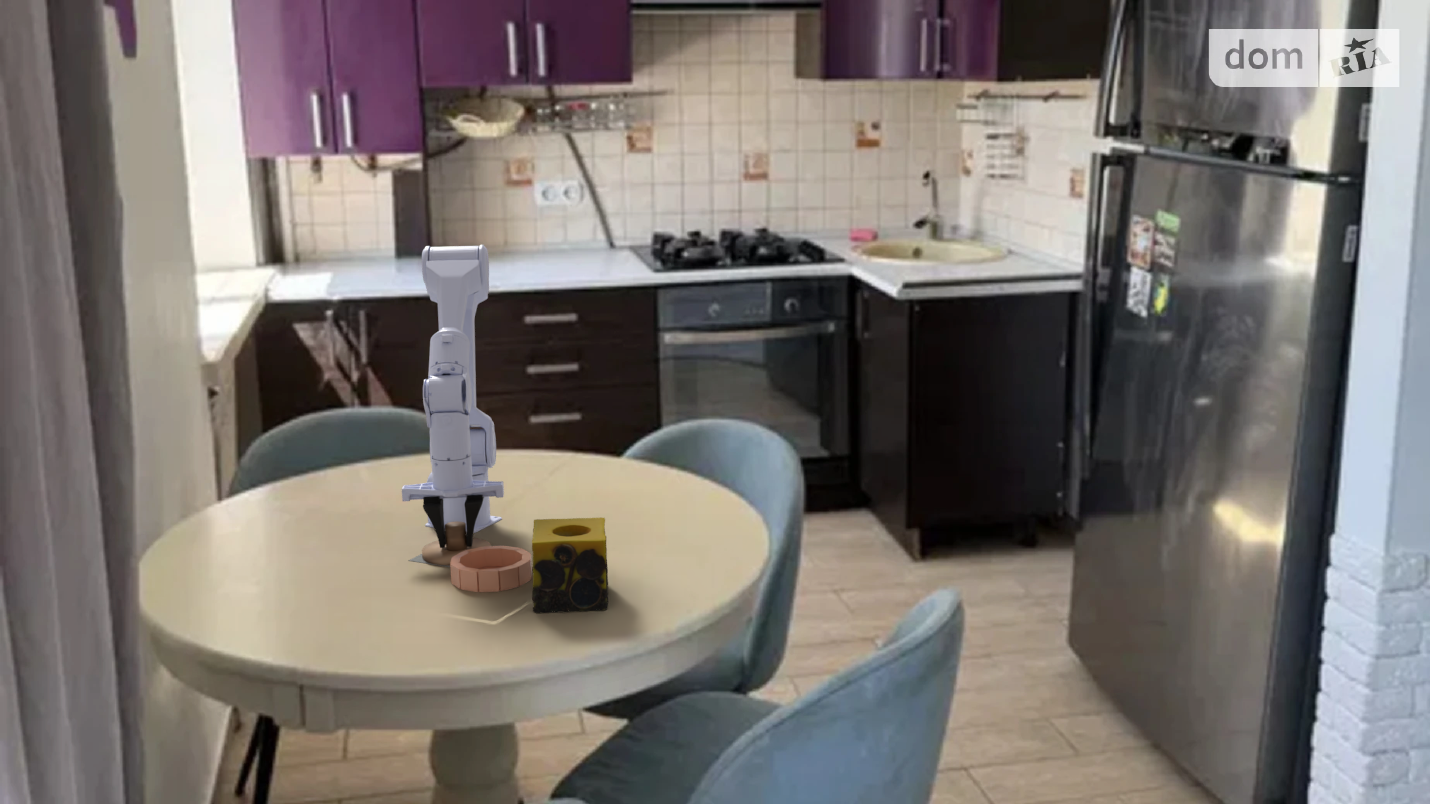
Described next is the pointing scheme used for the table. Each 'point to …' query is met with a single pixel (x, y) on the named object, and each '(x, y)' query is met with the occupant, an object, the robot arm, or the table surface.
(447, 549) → the lid
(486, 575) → the bowl
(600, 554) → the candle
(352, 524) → the table surface
